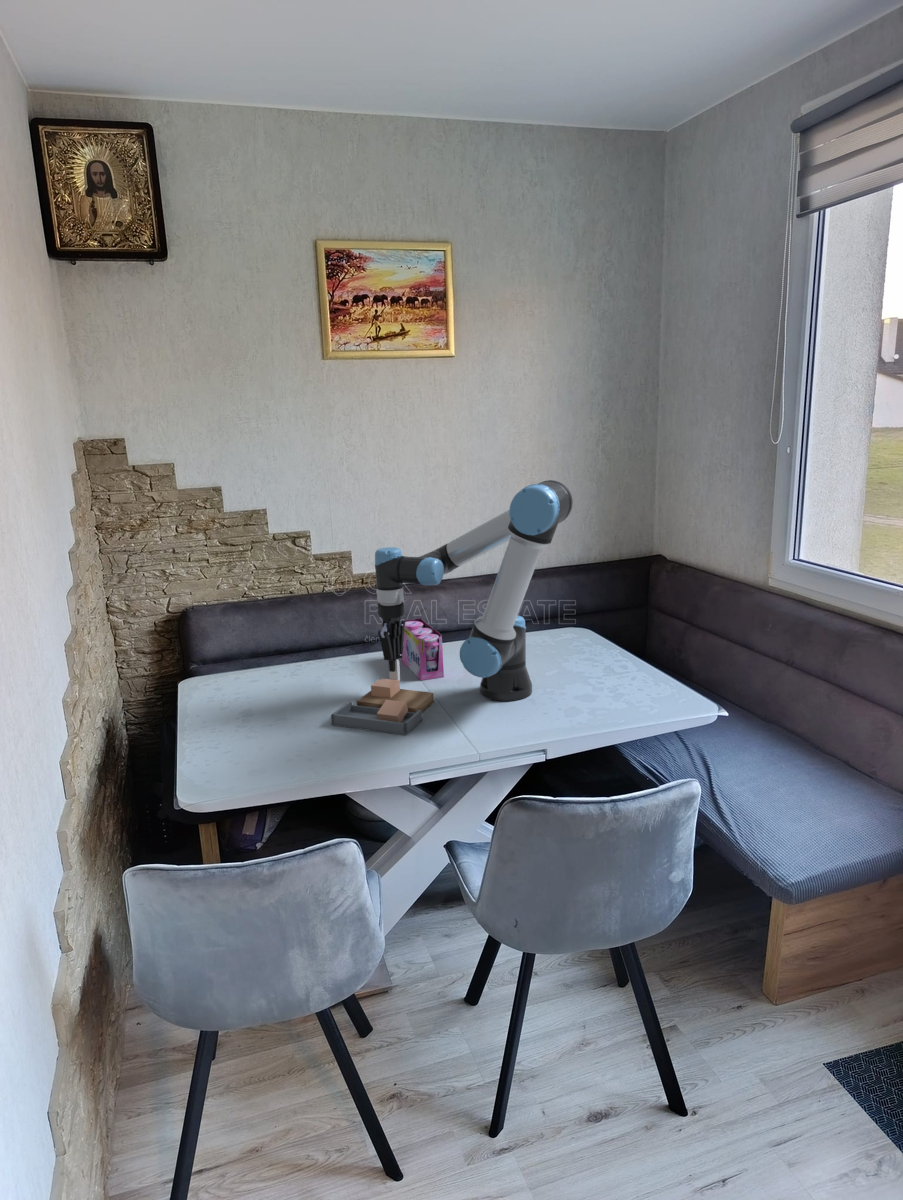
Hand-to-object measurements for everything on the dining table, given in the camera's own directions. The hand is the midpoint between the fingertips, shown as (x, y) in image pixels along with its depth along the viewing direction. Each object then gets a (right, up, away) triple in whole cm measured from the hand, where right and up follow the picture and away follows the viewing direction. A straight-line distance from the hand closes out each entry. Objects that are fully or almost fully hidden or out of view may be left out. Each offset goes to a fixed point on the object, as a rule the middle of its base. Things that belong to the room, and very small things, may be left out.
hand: (394, 680), depth 224 cm
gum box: (+7, +1, +24) cm, 25 cm away
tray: (-3, -9, -18) cm, 21 cm away
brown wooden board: (+1, -7, -8) cm, 10 cm away
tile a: (+1, -8, -18) cm, 20 cm away
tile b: (-2, -3, -5) cm, 6 cm away
